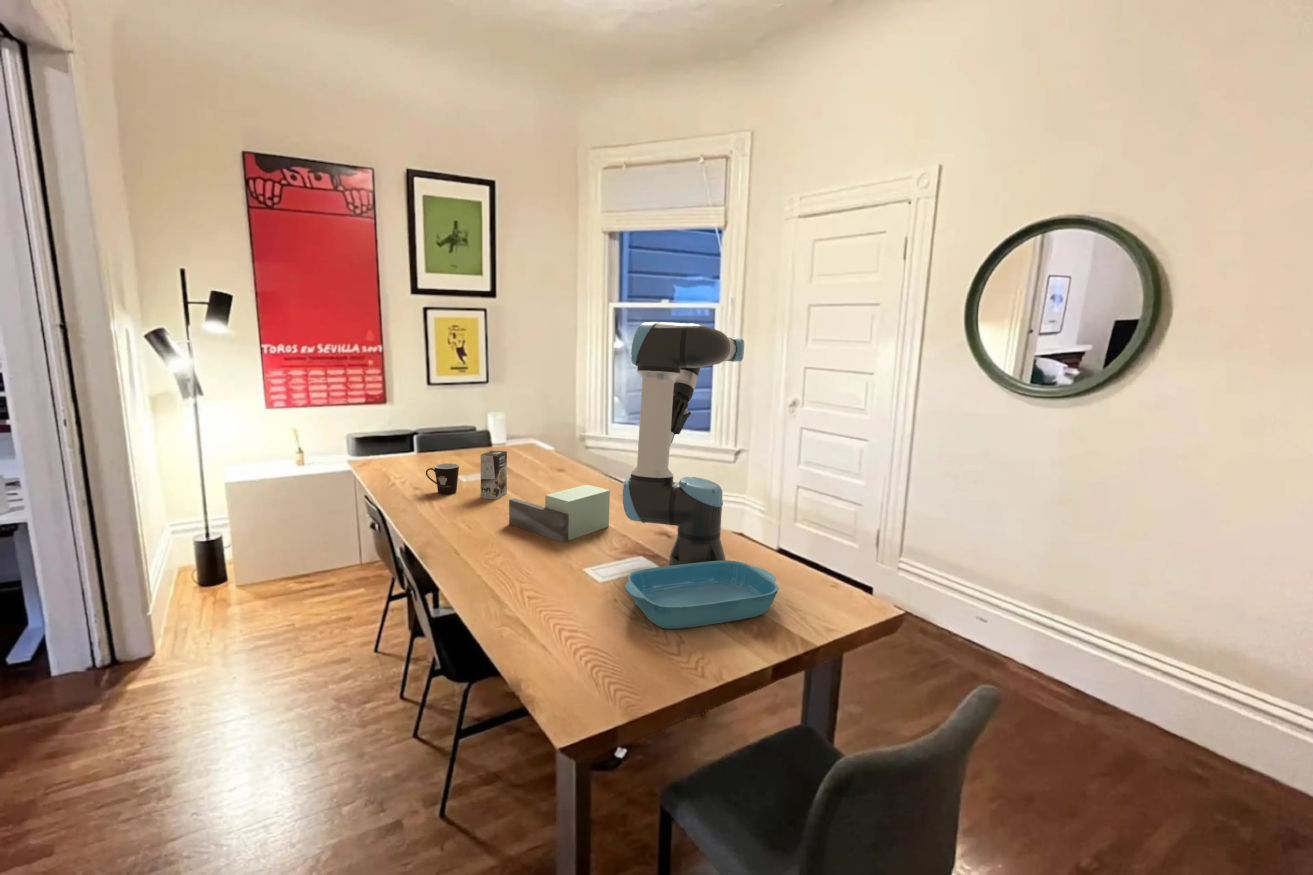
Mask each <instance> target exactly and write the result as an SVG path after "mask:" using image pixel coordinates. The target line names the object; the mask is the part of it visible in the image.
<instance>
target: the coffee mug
mask: <svg viewBox="0 0 1313 875" xmlns="http://www.w3.org/2000/svg"><path fill="white" fill-rule="evenodd" d="M429 470H432V471H433V472H434V473H435V480H434V479H432V477H430V476H429V474H428V473H429ZM459 470H460V465H459V464H457V463H439V464H438V463H437V464H435V465H434V468H433V467H429V468H427V469H426V470H425V476H426V477H427V478H428V479H429V480H430V481H431V482H433V484H435V485H436V486H437V493H438V494H439V495H442V496H443V495H444V496H451V495H455V494H457V490H458V479H459Z"/></svg>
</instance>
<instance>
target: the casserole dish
mask: <svg viewBox="0 0 1313 875" xmlns="http://www.w3.org/2000/svg"><path fill="white" fill-rule="evenodd" d="M776 581H777V578H776V576H775V575H774V574H772V573H771V572H769V571H768V570H767V569H764V568H761V567H758V566H754V565H750V563H749V564H748V563H746V562H743V561H739V560H726V559H725V560H724V561H709V562H699V563H690V564H681V565H673V566H671V565H665V566H657V567H649V568H641V569H637V570H635V571H632V572H630V574H628V575H627V582H626V583H625V587H624V589H625V591H626V592H627V594H628V595H629V596H630V597H631V598H632V600H633V601H634V603H635V604H636V606H637V607H638V608H639V609H640V611H641V612H642V614H644V615H645V617H646V618H647V619H648V620H649V621H650V622H652V623H653V624H654V625H656V626H657V627H659V628H662V629H667V630H668V629H669V630H675V629H676V630H677V629H687V628H695V627H701V626H702V627H703V626H709V625H716V624H723V623H729V622H736V621H741V620H745V619H746V620H747V619H750V618H755V617H758V616H761V615H763V614H765V613H766V612H768V611H769V609H770V608H771V606H772V605H773V602H774V601H775V598H776V596H777V594H778V591H779V588H780V587H779V585H778V584H777V582H776Z"/></svg>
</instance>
